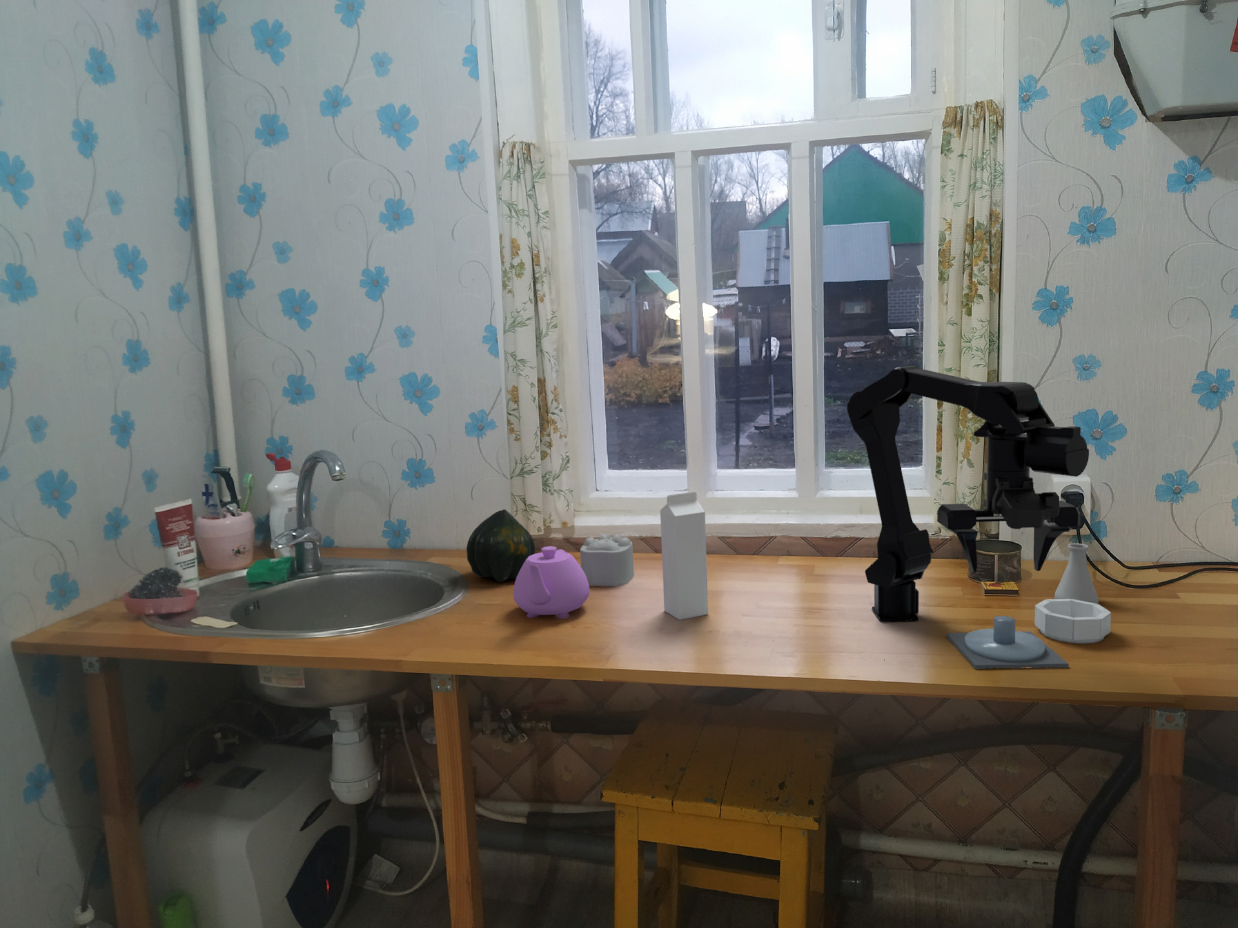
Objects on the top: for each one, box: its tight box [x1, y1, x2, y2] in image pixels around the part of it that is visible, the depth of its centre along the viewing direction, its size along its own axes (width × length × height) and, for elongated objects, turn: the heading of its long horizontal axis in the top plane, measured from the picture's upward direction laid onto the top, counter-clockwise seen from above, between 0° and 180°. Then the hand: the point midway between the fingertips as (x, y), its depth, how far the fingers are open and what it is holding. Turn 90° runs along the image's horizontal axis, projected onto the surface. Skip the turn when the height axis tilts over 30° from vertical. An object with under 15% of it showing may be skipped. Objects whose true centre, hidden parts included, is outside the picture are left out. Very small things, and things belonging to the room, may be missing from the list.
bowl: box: [1034, 598, 1112, 645], centre depth 131 cm, size 10×10×4 cm
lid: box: [965, 615, 1046, 662], centre depth 125 cm, size 11×11×4 cm
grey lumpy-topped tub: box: [579, 533, 635, 587], centre depth 174 cm, size 10×13×9 cm
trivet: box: [946, 630, 1070, 670], centre depth 126 cm, size 13×13×1 cm
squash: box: [466, 509, 536, 583], centre depth 178 cm, size 14×15×15 cm
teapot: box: [512, 545, 591, 620], centre depth 153 cm, size 20×14×12 cm
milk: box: [659, 491, 709, 621], centre depth 148 cm, size 6×6×22 cm
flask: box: [1053, 542, 1100, 604], centre depth 146 cm, size 7×7×10 cm
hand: (1005, 571), depth 124 cm, fingers open, 9 cm apart
